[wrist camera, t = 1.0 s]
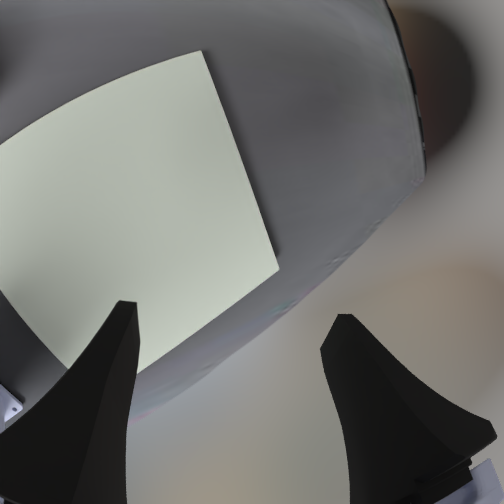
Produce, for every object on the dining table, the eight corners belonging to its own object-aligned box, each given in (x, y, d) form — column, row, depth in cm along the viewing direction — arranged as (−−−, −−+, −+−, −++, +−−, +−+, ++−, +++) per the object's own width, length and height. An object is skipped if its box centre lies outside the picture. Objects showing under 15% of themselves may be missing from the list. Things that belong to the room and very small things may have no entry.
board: (97, 387, 22) (100, 398, 20) (-48, 189, 11) (-55, 191, 10) (269, 264, 29) (279, 269, 28) (192, 55, 19) (201, 50, 18)
